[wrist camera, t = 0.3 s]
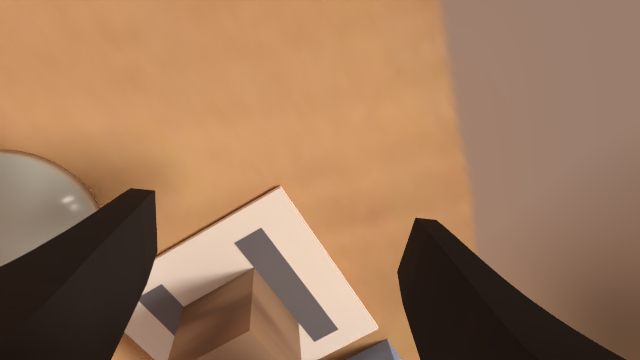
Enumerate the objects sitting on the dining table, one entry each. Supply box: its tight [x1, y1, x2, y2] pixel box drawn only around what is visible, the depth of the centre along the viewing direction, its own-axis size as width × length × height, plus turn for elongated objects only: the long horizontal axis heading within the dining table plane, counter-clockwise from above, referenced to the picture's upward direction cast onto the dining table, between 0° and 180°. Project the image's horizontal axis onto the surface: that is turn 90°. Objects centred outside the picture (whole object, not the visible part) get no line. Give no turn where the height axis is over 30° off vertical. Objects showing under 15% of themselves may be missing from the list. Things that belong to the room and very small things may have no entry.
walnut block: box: [168, 268, 301, 360], centre depth 23 cm, size 5×5×5 cm
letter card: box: [124, 185, 379, 360], centre depth 25 cm, size 13×12×1 cm
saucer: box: [0, 150, 99, 266], centre depth 21 cm, size 8×8×1 cm
